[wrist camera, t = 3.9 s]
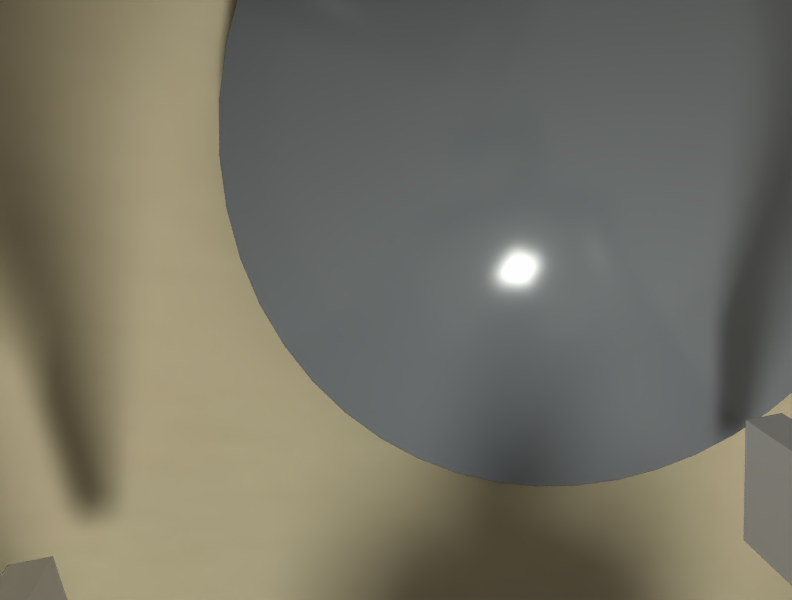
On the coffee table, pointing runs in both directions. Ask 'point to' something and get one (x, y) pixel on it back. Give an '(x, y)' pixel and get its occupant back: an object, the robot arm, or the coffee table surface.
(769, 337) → the grey round disc
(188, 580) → the coffee table surface
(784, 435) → the robot arm
